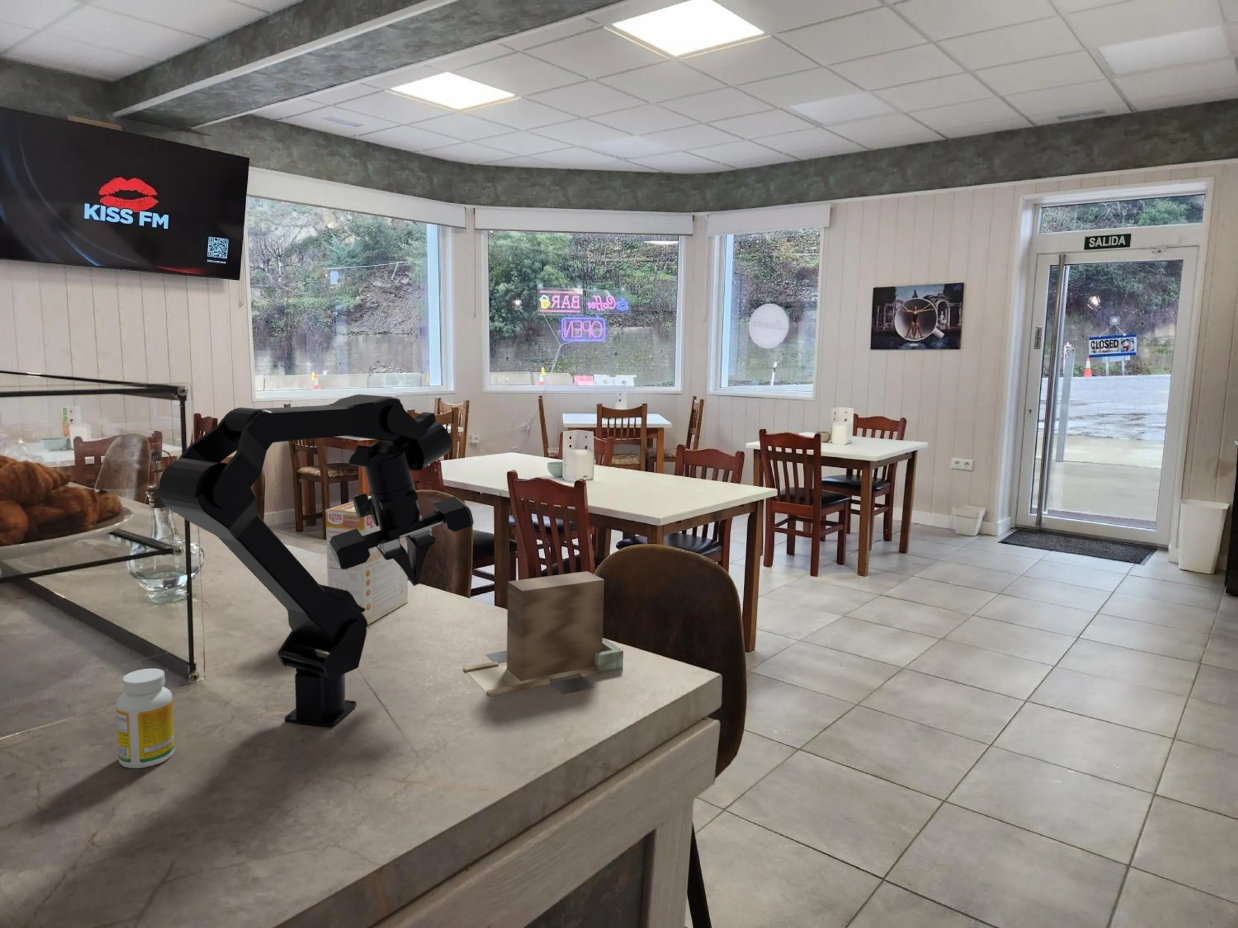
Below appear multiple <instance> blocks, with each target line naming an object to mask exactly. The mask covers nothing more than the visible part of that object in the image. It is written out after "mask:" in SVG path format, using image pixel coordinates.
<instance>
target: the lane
mask: <svg viewBox="0 0 1238 928" xmlns="http://www.w3.org/2000/svg"><path fill="white" fill-rule="evenodd" d="M485 655H486V657H487V658H488V659H490V661H491V662H486V663H481V664H480V663H479V664H475V665H469V666H463V668H462V669H463V671H464V672H465V673H466V674H467V675H468V676H469V677H470V678H471V679H472V680H473V682H475V683H476V684H477V685H478V686H479V687H480V688H481V690H483V691H484V692H485V693H486V694H487V695H488V696H489V697H491V696H496V695H500V694H501V695H502V694H506V693H510V692H515V691H520V690H525V689H531V688H535V687H539V686H545V685H549V684H550V685H551V686H553V687H554V688H555V689H556V690H557V691H559V693H561V694H562V695H567V694H571V693H575V692H576V693H577V692H581V691H586V690H590V689H594V688H596V686H595V685H594V684H592V683H591V682H590V681H589V680H587V679H586V677H589V676H595V675H598V674H603V673H609V672H615V671H618V670H623V669H624V650H623V649H621V648H620V647H618V646H617V645H615V644H614V643H612V642H610V641H608V639H605V638H604V637H603V639H602V652H599V653H595V666H594V667H589V668H584V669H579V670H574V671H569V672H564V673H559V674H554V675H549V676H544V677H539V678H534V679H529V680H523V681H520V680H519V679H518V678H517V677H516V676H515V675H514V674H512V673H511V672H510V671H509V670H508V669H507V664H506V665H500V666H499V664H502V663H507V650H502V651H498V652H497V651H496V652H492V653H485ZM575 675H578V676H579V677H574V678H570V679H563V680H559V681H555V682H551V680H553V679H558V678H563V677H569V676H575ZM584 677H585V678H584Z"/></svg>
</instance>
